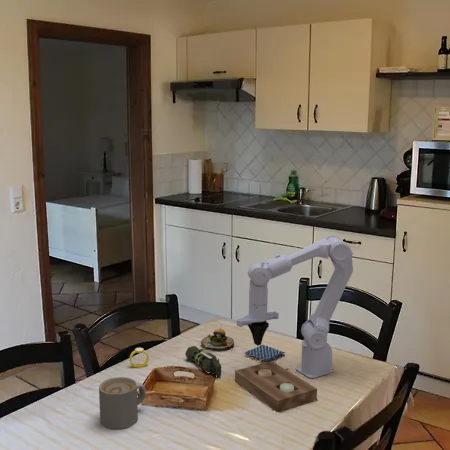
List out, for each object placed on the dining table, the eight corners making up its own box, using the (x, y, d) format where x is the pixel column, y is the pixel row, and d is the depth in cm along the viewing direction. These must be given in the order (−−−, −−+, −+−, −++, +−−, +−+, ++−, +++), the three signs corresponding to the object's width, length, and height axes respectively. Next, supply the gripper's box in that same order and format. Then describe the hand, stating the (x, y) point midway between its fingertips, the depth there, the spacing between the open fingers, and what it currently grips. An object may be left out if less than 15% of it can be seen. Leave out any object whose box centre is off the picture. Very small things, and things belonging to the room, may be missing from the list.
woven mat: (262, 348, 202) (262, 343, 202) (286, 357, 195) (286, 351, 195) (242, 357, 195) (242, 351, 194) (266, 366, 188) (267, 360, 187)
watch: (130, 369, 184) (130, 352, 183) (129, 365, 187) (128, 348, 185) (149, 367, 186) (148, 349, 185) (147, 363, 188) (147, 346, 187)
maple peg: (266, 378, 177) (266, 367, 177) (273, 383, 174) (274, 372, 173) (255, 381, 175) (255, 370, 174) (263, 386, 172) (263, 375, 171)
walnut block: (271, 371, 183) (271, 360, 182) (316, 399, 165) (317, 388, 164) (234, 381, 176) (234, 370, 175) (277, 412, 158) (277, 400, 157)
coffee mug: (109, 433, 147) (107, 397, 145) (94, 417, 155) (93, 382, 153) (155, 418, 154) (155, 384, 152) (139, 403, 162) (138, 370, 160)
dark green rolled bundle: (197, 356, 194) (225, 376, 180) (184, 359, 192) (212, 380, 177) (197, 339, 193) (226, 358, 178) (183, 342, 191) (212, 361, 176)
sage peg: (288, 393, 168) (288, 381, 167) (296, 398, 165) (296, 387, 164) (277, 396, 166) (277, 385, 165) (285, 402, 163) (285, 390, 162)
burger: (194, 345, 204) (194, 325, 203) (218, 337, 212) (218, 317, 211) (216, 355, 196) (216, 335, 194) (241, 346, 203) (241, 326, 202)
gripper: (269, 295, 184) (268, 335, 187) (231, 302, 177) (231, 344, 179) (282, 301, 178) (281, 342, 181) (244, 309, 171) (243, 352, 173)
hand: (257, 344), depth 180 cm, fingers closed
